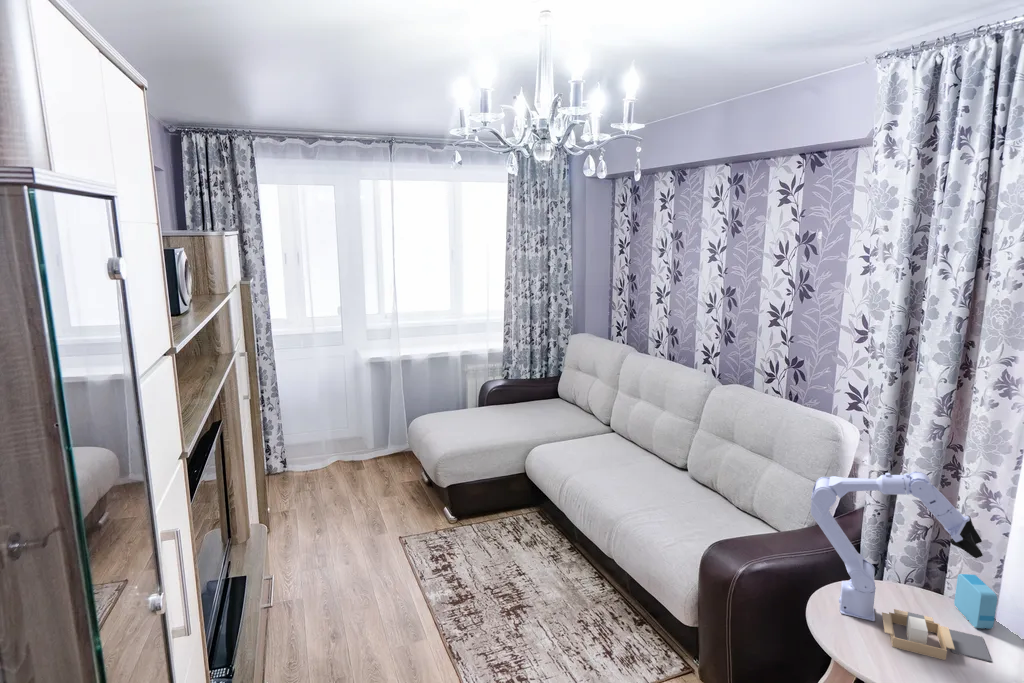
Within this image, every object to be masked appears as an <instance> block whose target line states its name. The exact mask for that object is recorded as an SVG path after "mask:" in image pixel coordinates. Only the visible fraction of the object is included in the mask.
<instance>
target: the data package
mask: <svg viewBox="0 0 1024 683" xmlns="http://www.w3.org/2000/svg"><path fill="white" fill-rule="evenodd" d="M953 602H954V603H953V604H954V606H956V607H957V608H958V610H959V611H960V612H961V613H962V614H963V615H964V616H965V617H966V618H965V617H964V616H963V615H962V614H961V613H960V612H959V611H958V610H957V611H958V612H959V613H960V614H961V615H962V616H963V617H964V618H965V619H966V620H967V621H968V620H969V621H968V623H970V624H971V626H974V627H973V628H975V629H985V628H986V630H987V629H988V630H989V629H990V630H991V629H993V628H994V623H995V617H996V611H997V605H998V595H997V594H996V593H995V591H993V589H992V588H990V587H989V586H988V584H986V583H985V582H984V581H983V580H982V579H981V578H980V577H979V576H977V575H976V574H971V573H969V574H966V573H965V574H964V573H959V574H957V579H956V586H955V593H954V601H953ZM956 607H955V608H956ZM957 608H956V609H957Z"/></svg>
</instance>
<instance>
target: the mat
mask: <svg viewBox="0 0 1024 683" xmlns="http://www.w3.org/2000/svg"><path fill="white" fill-rule="evenodd" d="M949 631H950V635H951V638H952V641H953V644H954V648H955V650H954V649H950V651H951V653H952V654H957V655H961V656H965V657H968V658H972V659H977V660H981V661H985V662H989V663H991V662H992V659H991V656H990V654H989V652H988V649H987V646H986V644H985V640H984V639H983V636H979V635H975V634H971V633H967V632H963V631H958V630H954V629H949Z"/></svg>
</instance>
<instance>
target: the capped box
mask: <svg viewBox="0 0 1024 683" xmlns="http://www.w3.org/2000/svg"><path fill="white" fill-rule="evenodd" d="M907 612H908V616H907V625H906V626H905V627H906V628H905V633H906V636H907V640H908V641H912V642H917V643H921V644H925V645H928V644H927V643H928V636H929V635H928V634H929V631H928V630H927V626H926V622H925V618H924V616H925V615H923V614H919V613H915V612H914V613H913V612H909V611H907Z"/></svg>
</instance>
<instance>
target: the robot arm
mask: <svg viewBox="0 0 1024 683" xmlns="http://www.w3.org/2000/svg"><path fill="white" fill-rule="evenodd" d="M867 491H869V492H870V491H879V493H882V494H883V495H903V496H904V495H906V496H907V495H908V496H909V495H912V496H913V497H915V498H918V499H919V500H920V501H921V503H922V505H923V506H925V507H926V509H927V510H928V511H929V512H930V513H931V514H932V515H933V516H934V517H935V519H936V520H937V521H938V522H939V523H940V524H941V525H942V526H943V528H944V530H945V531H946V532H947V533H948V534H949V535H950V541H949V542H950V544H951V545H952V546H955V547H956V548H959V549H961V550H963V551H964V552H966V554H968V555H970V556H971V557H973V558H974V559H979V558H980V557H984V556H983V555H984V554H983V553H982V551H981V549H980V548H979V547H978V545H979V544H980V543H982V542H983V541H982V538H981V536H980V534H979V533H978V532H977V530H976V528H975V526H974V524H973V521H972V517H971V515H965V516H964V515H963V513H962V512H960V510H959V509H957V508H955V506H954V505H953V504H952V503H951V501H949V500H948V498H947V497H945V495H944V494H943V493H942V492H941V491H939V489H938V488H937V487H936V486H935V485H934V484H932V481H931V479H930V477H929V476H928V475H927V474H926V473H924V472H921V471H915V470H914V471H912V472H910V473H908V472H906V473H905V474H891V472H885V474H881V475H880V476H878V477H877V478H865V477H864V478H863V477H841V476H835V475H834V476H821V477H819V478H818V479H816V481H815V483H814V485H813V488H812V493H811V497H810V514H811V516H812V518H813V519H814V520H815V522H816V523H817V525H818V526H819V528H820V529H821V531H822V532H823V534H824V536H825V537H826V538H827V540H828V541H829V543H830V545H831V546H832V547H833V548H834V550H835V551H836V553H837V554H838V555H839V557H840V558H841V560H842V562H843V563H844V565H845V569H846V571H847V573H848V575H849V577H850V579H849V580H847V581H846V580H841V585H840V596H839V598H838V603H839V611H840V614H842V615H845V616H849V617H855V618H859V619H863V620H865V621H872V622H875V621H876V616H875V610H874V609H875V608H874V607H875V599H876V598H875V597H876V588H877V587H876V582H875V573H876V572H875V571H876V570H875V567H874V565H873V564H872V563H871V562H870V561H868V560H867V559H866V558H865V557H864V556H863V554H861V553H859V552H858V551H857V549H856V548H855V546H854V545H853V544H852V542H851V540H850V539H849V538H848V536H847V535H846V533H845V532H844V531H843V529H842V527H841V526H840V524H838V522H837V520H836V519H835V517H834V516H833V515H832V513H831V512H830V509H831V507H832V506H833V505H834V504H835V503H836V501H837V497H838V498H839V499H842V498H843V497H844V496H845V495H846V494H847V493H849V492H867ZM977 544H978V545H977Z"/></svg>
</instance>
